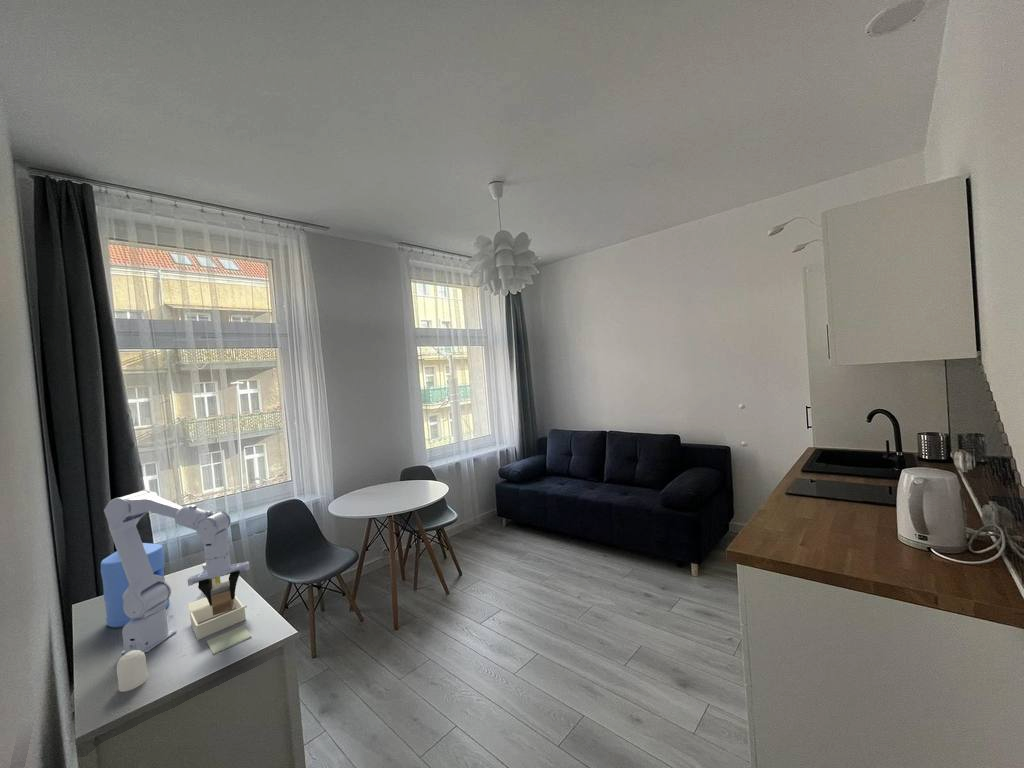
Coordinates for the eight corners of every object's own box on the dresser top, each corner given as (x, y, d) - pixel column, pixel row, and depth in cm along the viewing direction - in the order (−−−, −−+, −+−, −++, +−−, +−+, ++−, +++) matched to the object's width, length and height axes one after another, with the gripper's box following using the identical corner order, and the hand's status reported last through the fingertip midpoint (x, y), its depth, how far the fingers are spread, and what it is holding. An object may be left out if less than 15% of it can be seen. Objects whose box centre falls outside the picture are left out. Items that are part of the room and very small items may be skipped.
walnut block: (232, 609, 118) (229, 586, 118) (213, 615, 116) (210, 591, 116) (233, 603, 122) (231, 580, 122) (215, 608, 120) (213, 585, 120)
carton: (248, 623, 123) (246, 605, 123) (200, 645, 115) (197, 625, 115) (234, 603, 137) (232, 587, 137) (189, 621, 128) (187, 603, 128)
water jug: (111, 634, 125) (101, 545, 125) (103, 620, 135) (93, 537, 134) (175, 608, 138) (166, 527, 137) (163, 597, 147) (154, 521, 147)
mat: (251, 637, 116) (251, 635, 116) (213, 654, 109) (213, 653, 109) (243, 626, 122) (243, 624, 122) (207, 642, 116) (206, 640, 116)
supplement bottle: (218, 583, 154) (215, 558, 154) (223, 587, 150) (220, 561, 150) (201, 590, 149) (198, 564, 149) (205, 594, 146) (202, 567, 146)
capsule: (122, 682, 102) (119, 650, 102) (150, 672, 105) (147, 642, 105) (115, 695, 97) (111, 662, 97) (144, 684, 100) (141, 653, 100)
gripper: (248, 543, 125) (253, 587, 126) (189, 558, 118) (194, 603, 119) (245, 551, 119) (250, 596, 119) (183, 566, 112) (189, 614, 112)
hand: (222, 601), depth 119 cm, fingers closed on walnut block, 4 cm apart
